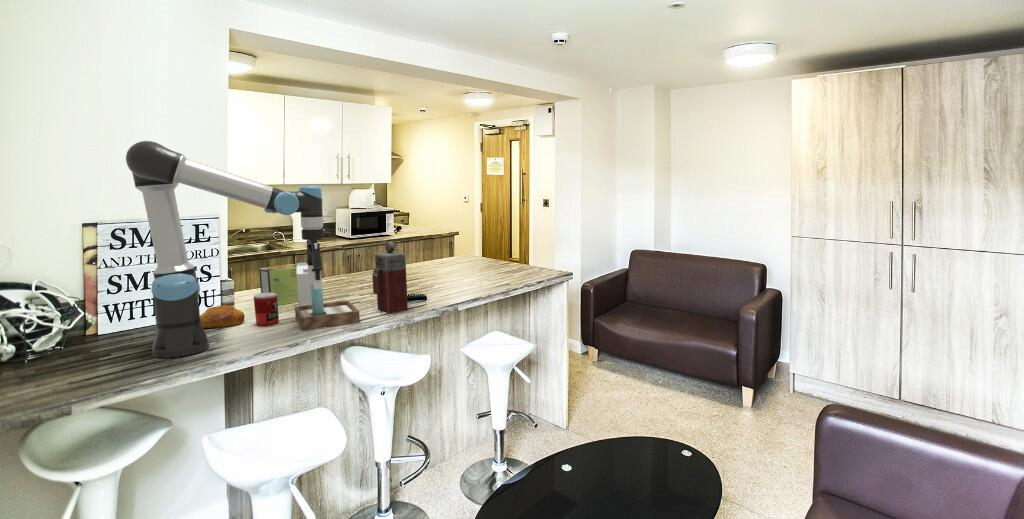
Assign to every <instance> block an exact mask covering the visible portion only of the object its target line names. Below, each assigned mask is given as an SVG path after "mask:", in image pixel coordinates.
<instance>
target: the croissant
mask: <svg viewBox="0 0 1024 519" xmlns="http://www.w3.org/2000/svg"><path fill="white" fill-rule="evenodd" d="M245 317H246V316H245V313H244V311H242V310H240V309H237V308H235V307H234V306H233V305H227V304H225V305H216V306H212V307H209V308H207V309H206V310H204V312H203V313H202V314H200V322H201V325H202V327H203V329H211V328H214V327H215V328H224V327H231V326H236V325H239V324H243V323H244V321H245Z"/></svg>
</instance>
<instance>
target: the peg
mask: <svg viewBox="0 0 1024 519" xmlns="http://www.w3.org/2000/svg"><path fill="white" fill-rule="evenodd" d="M323 292H324V290H323V288H322V289H314V284H313V285H311V298H312V312H313V316H318V315H324V306H323V303H324V295H323Z"/></svg>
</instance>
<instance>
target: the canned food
mask: <svg viewBox="0 0 1024 519" xmlns="http://www.w3.org/2000/svg"><path fill="white" fill-rule="evenodd" d="M253 302H254V303H253V305H254V314H255V324H256V325H257V326H259V327H270V326H274V325H277V324H279V321H280V319H279V305H278V302H277V294H276V293H261V292H260V293H256V294H255V295H253Z"/></svg>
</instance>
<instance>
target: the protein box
mask: <svg viewBox="0 0 1024 519" xmlns="http://www.w3.org/2000/svg"><path fill="white" fill-rule="evenodd" d="M258 272H259V284H260V293H276V294H277V302H278V306H283V304H284V305H288V303H289V304H294V303H293V302H295V303H299V302H298V287H297V274H296V273H297V264H294V263H291V264H282V265H276V266H269V267H261V268H258Z"/></svg>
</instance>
